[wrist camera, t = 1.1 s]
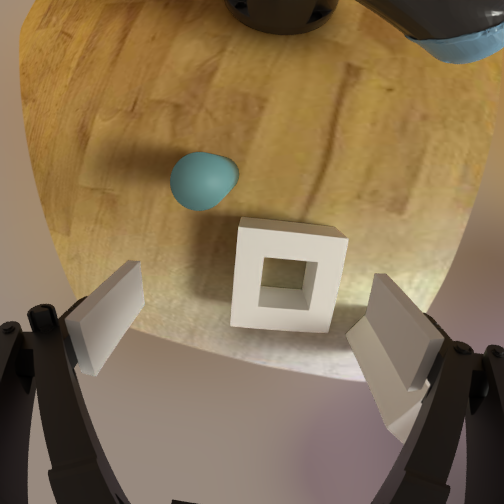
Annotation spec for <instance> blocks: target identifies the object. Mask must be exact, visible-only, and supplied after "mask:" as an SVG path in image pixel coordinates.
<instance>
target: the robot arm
mask: <svg viewBox="0 0 504 504" xmlns="http://www.w3.org/2000/svg"><path fill="white" fill-rule="evenodd" d="M356 1H357V2H359V3H360V4H362V5H364V6H365V7H367V8H368V9H370V10H371V11H373V12H374V13H376V14H377V15H379V16H380V17H382V18H383V19H384V20H386V21H387V22H389V23H390V24H391V25H393V26H394V27H395V28H397V29H398V30H399V31H401V32H402V33H403V34H404V35H405V37H406V38H407V39H409V40H410V41H413V42H415V43H417V44H418V45H420V46H421V47H422V48H424V49H425V50H426V51H427V52H429V53H430V54H431V55H432V56H434V57H435V58H436V59H438V60H440V61H442V62H446V63H453V64H465V63H471V62H475V61H478V60H481V59H483V58H486V57H488V56H490V55H492V54H494V53H495V52H497V51H499V50H500V49H502V48H503V47H504V0H356ZM225 3H226V6H227V8H228V9H229V11H230V12H231V13H232V15H233V16H234V17H235V18H237V19H238V20H239V21H240V22H242V23H243V24H245V25H247V26H249V27H251V28H253V29H256V30H258V31H262V32H266V33H270V34H277V35H295V34H302V33H306V32H309V31H312V30H314V29H317V28H319V27H320V26H322V25H323V24H325V23H326V22H327V21H328V20H329V19H330V17H331V16H332V14H333V12H334V10H335V9H336V7H337V4H338V0H225ZM144 305H145V301H144V293H143V284H142V275H141V264H140V261H131V260H128V261H127V262H126V263H125V264H123V265H122V266H121V267H120V268H119V269H118V270H117V271H116V272H114V273H113V274H112V275H111V276H110V277H109V278H108V279H107V280H105V281H104V282H103V283H102V284H101V285H100V286H99V287H98V288H97V289H96V290H95V291H93V292H92V293H91V294H90V295H89V296H85V297H83V298H81V299H79V300H78V301H77V302H76V303H74V305H73V306H71V307H70V308H69V309H68V311H66V312H65V313H64V314H63V315H62V316H61V317H60V318H59V319H58V318H57V314H56V311H55V308H54V306H53V305H51V304H40V305H37V306H35V307H33V308H31V309H30V310H29V311H28V313H27V316H28V319H29V322H30V326H31V328H32V332H22V329H21V326H20V324H19V323H18V322H14V321H11V322H6V323H3V324H2V325H1V326H0V504H28V486H27V483H28V482H27V480H28V451H29V438H30V427H31V419H32V411H33V404H34V398H35V392H36V388H37V396H38V403H39V410H40V416H41V420H42V426H43V431H44V436H45V440H46V445H47V449H48V453H49V457H50V461H51V464H52V469H51V470H48V476H49V481H50V484H51V488H52V491H53V494H54V496H55V500H56V502H57V504H131V503H130V502H129V501H128V499H127V497H126V496H125V494H124V492H123V490H122V489H121V486H120V485H119V483H118V481H117V479H116V477H115V475H114V473H113V471H112V469H111V466H110V464H109V462H108V460H107V458H106V456H105V453H104V451H103V449H102V447H101V444H100V442H99V439H98V437H97V435H96V432H95V429H94V427H93V424H92V421H91V419H90V416H89V413H88V411H87V408H86V405H85V402H84V399H83V396H82V393H81V389H80V386H79V383H78V379H77V376H76V373H75V370H74V367H75V366H76V364H77V363H78V364H79V367H80V370H81V372H82V373H84V374H88V375H92V376H97V374H98V372H99V371H100V370H101V368H102V366H103V365H104V363H105V362H106V360H107V359H108V357H109V356H110V354H111V353H112V351H113V350H114V348H115V347H116V345H117V344H118V342H119V341H120V339H121V338H122V336H123V335H124V334H125V332H126V330H127V329H128V328H129V326H130V325H131V324H132V322H133V321H134V319H135V318H136V316H137V315H138V314H139V312H140V311H141V309H142V308H143V307H144ZM365 316H366V318H367V320H368V322H369V323H370V325H371V327H372V328H373V330H374V332H375V334H376V335H377V337H378V339H379V341H380V342H381V344H382V346H383V348H384V349H385V351H386V353H387V355H388V357H389V358H390V360H391V362H392V364H393V366H394V368H395V369H396V371H397V373H398V375H399V377H400V379H401V381H402V382H403V384H404V386H405V388H406V390H407V392H409V391H415V390H421V389H422V387H423V385H424V383H425V381H426V379H427V380H428V382H429V383H430V386H429V388H428V390H427V392H426V394H425V396H424V398H423V399H422V401H421V403H422V405H421V408H420V410H419V413H418V415H417V418H416V420H415V422H414V425H413V427H412V429H411V431H410V434H409V436H408V438H407V440H406V442H405V444H404V446H403V448H402V450H401V452H400V454H399V456H398V458H397V460H396V462H395V464H394V466H393V467H392V470H391V471H390V473H389V475H388V476H387V478H386V480H385V482H384V483H383V485H382V486H381V488H380V490H379V491H378V493H377V495H376V496H375V498H374V499H373V501H372V502H371V504H446V501H447V499H448V496H449V493H450V486H449V485H446V481H447V478H448V475H449V472H450V469H451V466H452V463H453V460H454V457H455V453H456V450H457V446H458V442H459V439H460V435H461V431H462V427H463V422H464V418H465V422H466V443H467V471H466V492H465V503H464V504H504V348H503V347H501V346H499V345H498V346H497V345H489V346H488V347H487V348H486V350H485V352H484V354H477V353H474V351H473V349H472V348H471V347H470V346H469V345H468V344H466V343H463V342H460V341H452V339H450V337H449V336H448V335H447V334H446V332H445V331H444V330H443V329H441V327H440V326H439V325H438V324H437V322H436V321H435V320H434V319H433V318H432V317H431V316H429V315H427V314H426V313H422V311H421V310H420V309H419V308H418V307H417V306H416V305H415V304H414V303H413V302H412V300H411V299H410V298H409V297H408V296H407V295H406V294H405V293H404V292H403V291H402V290H401V289H400V288H399V286H398V285H397V284H396V283H395V282H394V281H393V280H392V279H391V278H390V277H389V276H388V275H387V274H379V273H375V274H374V279H373V284H372V288H371V293H370V297H369V302H368V306H367V310H366V314H365ZM171 504H196V503H189V502H184V501H178V500H172V503H171Z"/></svg>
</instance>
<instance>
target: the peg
mask: <svg viewBox="0 0 504 504" xmlns="http://www.w3.org/2000/svg"><path fill="white" fill-rule="evenodd" d="M238 178H239V170H238V167H237V165H236V164H235V163H234V161H232V160H231V159H229V158H227V157H223V156H219V155H214V154H209V153H204V152H195V153H191V154H188V155H186V156H184V157H183V158H181V159H180V160H179V161H178V162H177V163H176V165H175V166H174V168H173V170H172V173H171V177H170V186H171V190H172V193H173V195H174V197H175V199H176V200H177V201H178V202H179V203H180V204H181V205H182V206H184V207H186V208H188V209H191V210H196V211H202V210H207V209H210V208H212V207H214V206H215V205H217V204H218V203H219V202H220V201H221V200H222V199H223V198H224V197H225V196H226V195H227V194H228V193H229V192H230V190H231V189H232V188H233V187H234V186H235V185H236V183H237V181H238Z"/></svg>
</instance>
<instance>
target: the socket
mask: <svg viewBox="0 0 504 504" xmlns="http://www.w3.org/2000/svg"><path fill="white" fill-rule="evenodd" d="M348 240H349V239H348V238H347V237H346V236H345V235H344V234H343V233H341V232H340V231H339V230H338V229H337V228H336V227H331V226H323V225H315V224H306V223H297V222H288V221H279V220H270V219H260V218H250V217H241V219H240V223H239V226H238V237H237V248H236V260H235V271H234V283H233V296H232V308H231V321H230V326H234V327H245V328H256V329H268V330H281V331H296V332H314V333H328V331H329V327H330V323H331V319H332V315H333V311H334V307H335V303H336V298H337V294H338V289H339V285H340V280H341V276H342V271H343V266H344V261H345V256H346V251H347V245H348ZM264 257H269V258H279V259H289V260H300V261H307V263H306V269H305V275H304V281H303V286H302V289H290V288H279V287H267V286H261V277H262V269H263V260H264Z"/></svg>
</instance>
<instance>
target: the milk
mask: <svg viewBox="0 0 504 504" xmlns="http://www.w3.org/2000/svg"><path fill="white" fill-rule="evenodd" d="M345 335H346V338H347V340H348V342H349V344H350V346H351V348H352V350H353V353H354V355H355V357H356V359H357V361H358V364H359V366H360V368H361V370H362V372H363V375H364V377H365V379H366V381H367V384H368V386H369V388H370V391H371V393H372V395H373V398H374V400H375V402H376V404H377V407H378V409H379V411H380V414H381V416H382V419H383V421H384V423H385V426H386V428H387V429H388V430H389V431H390V432H391V433H392V434H393V435H394V436H395V437H396V438H397V439H399V440H400V441H401V442H402V443H403V444H405V442H406V440H407V438H408V436H409V434H410V431H411V429H412V427H413V425H414V422H415V420H416V418H417V415H418V413H419V410H420V408H421V405H422V403H421V401H422V399H423V398H424V396H425V394H426V392H427V390H428V388H429V386H430V383H429V382H428V380H427V379H426V381H425V383H424V385H423V387H422V389H421V390H415V391H409V392H407V390H406V388H405V386H404V384H403V382H402V381H401V379H400V377H399V375H398V373H397V371H396V369H395V368H394V366H393V364H392V362H391V360H390V358H389V357H388V355H387V353H386V351H385V349H384V348H383V346H382V344H381V342H380V341H379V339H378V337H377V335H376V334H375V332H374V330H373V328H372V327H371V325H370V323H369V322H368V320H367V318H366V316H365V315H364V316H363V317H362V318H361V319H360V320H359V321H358V322H357V323H356V324H355V325H354V326H353V327H352V328H351V329H350V330H349V331H348V332H347V333H346V334H345Z"/></svg>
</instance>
